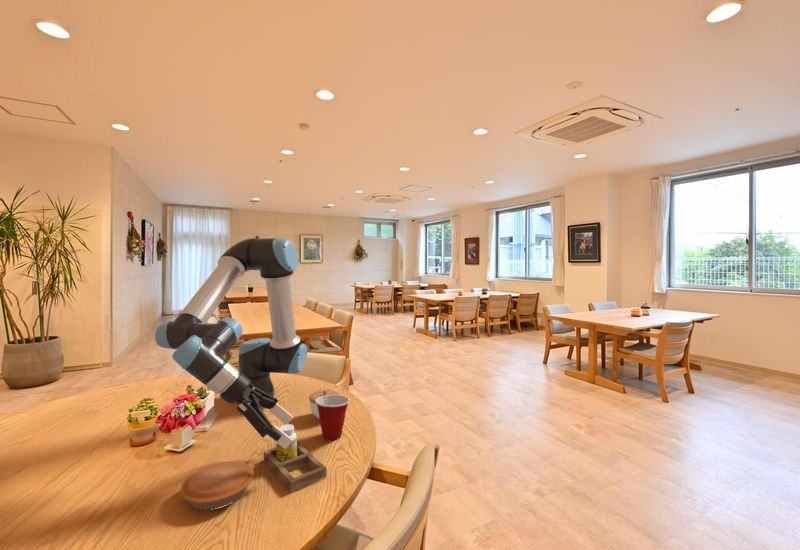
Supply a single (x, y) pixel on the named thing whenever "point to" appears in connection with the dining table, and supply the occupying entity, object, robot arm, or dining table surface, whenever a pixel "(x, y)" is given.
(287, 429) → the supplement bottle
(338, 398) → the plastic cup
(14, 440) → the dining table surface
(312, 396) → the lidded jar
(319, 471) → the two-window wooden frame
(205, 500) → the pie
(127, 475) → the dining table surface
